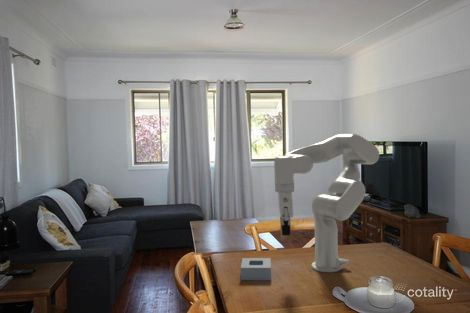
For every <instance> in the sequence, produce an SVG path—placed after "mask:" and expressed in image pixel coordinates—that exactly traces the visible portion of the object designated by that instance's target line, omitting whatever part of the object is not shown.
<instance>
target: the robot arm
mask: <svg viewBox="0 0 470 313" xmlns="http://www.w3.org/2000/svg"><path fill="white" fill-rule="evenodd" d="M341 155H342V162H343V163H342V169H341V171H340V173H339V174H338V175H337V176H336V177H335V179H334V180H332V182H331V183H330V185H329V187H328V191H327V192H328V194H318V195H316V196H315V197H313V199H312V202H311V209H312V214H313V220H314V221H313V222H314V223H313V224H314V261H313V262H312V263H311V268H312V269H313V270H314V271H317V272H319V273H320V272H322V273H337V272H339V271H341V270H342V265H350V260H349V259H346V258H340V257H339V252H338V250H339V249H338V248H339V247H338V244H339V242H338V240H339V238H338V224H337V221H346V220H348V219H349V218H350V217H351V215H353V213H354V212H355V211H356V210H357V208H358V207H359V205H360V204H362V202H363V200H364V199H365V196H366V186H365V185H364V183H363V181H360V178H361V172H360V169H359V165H375V163H377V162H378V161H379V158H380V152H379V149H378V148H377V146H376V145H374V144H373V143H372V142H370V141H369V140H368V139H366V138H364V137H363V136H361V135H360V134H357V133H342V134H341V133H340V134H335V135H334V136H330V137H328V138H327V139H325V140H322V141H320V142H318V143H315V144H310V145H308V146H305V147H301V148H298V149H294V150H293V151H291V152H288V153H286V154H284V155H282V156H276V157H275V158H274V160H273V161H274V162H273V163H274V164H273V165H274V166H273V167H274V169H273V170H274V188H275V189H274V191H275V193H277V196H278V208H279V209H278V210H279V215H280V216H281V218H282V235H290V223H289V216H290V219H292V218H293V217H294V211H293V210H294V209H293V206H294V205H293V193H294V192H295V174H301V175H305V174H308V173H310V172H311V170H312V169H313V167H314V164H322V163H326V162H329V161H330V160H333V159H335V158H336V157H339V156H341ZM280 216H279V217H280ZM283 216H284V217H283Z"/></svg>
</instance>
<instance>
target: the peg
mask: <svg viewBox="0 0 470 313" xmlns="http://www.w3.org/2000/svg"><path fill="white" fill-rule="evenodd" d="M283 217H284V216H283ZM279 219H280V221H279V223H280V227H279V228H280V242H281V243H285V244H288V243H291V242H292V228H291V227H292V225H291V223H292V222H291V217H290V215H289V223H290V235H282V218H281V216H279Z"/></svg>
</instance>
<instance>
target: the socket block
mask: <svg viewBox="0 0 470 313" xmlns="http://www.w3.org/2000/svg"><path fill="white" fill-rule="evenodd" d="M240 280H241V281H272V262H271V257H255V258H254V257H242V260H241V265H240Z"/></svg>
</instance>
